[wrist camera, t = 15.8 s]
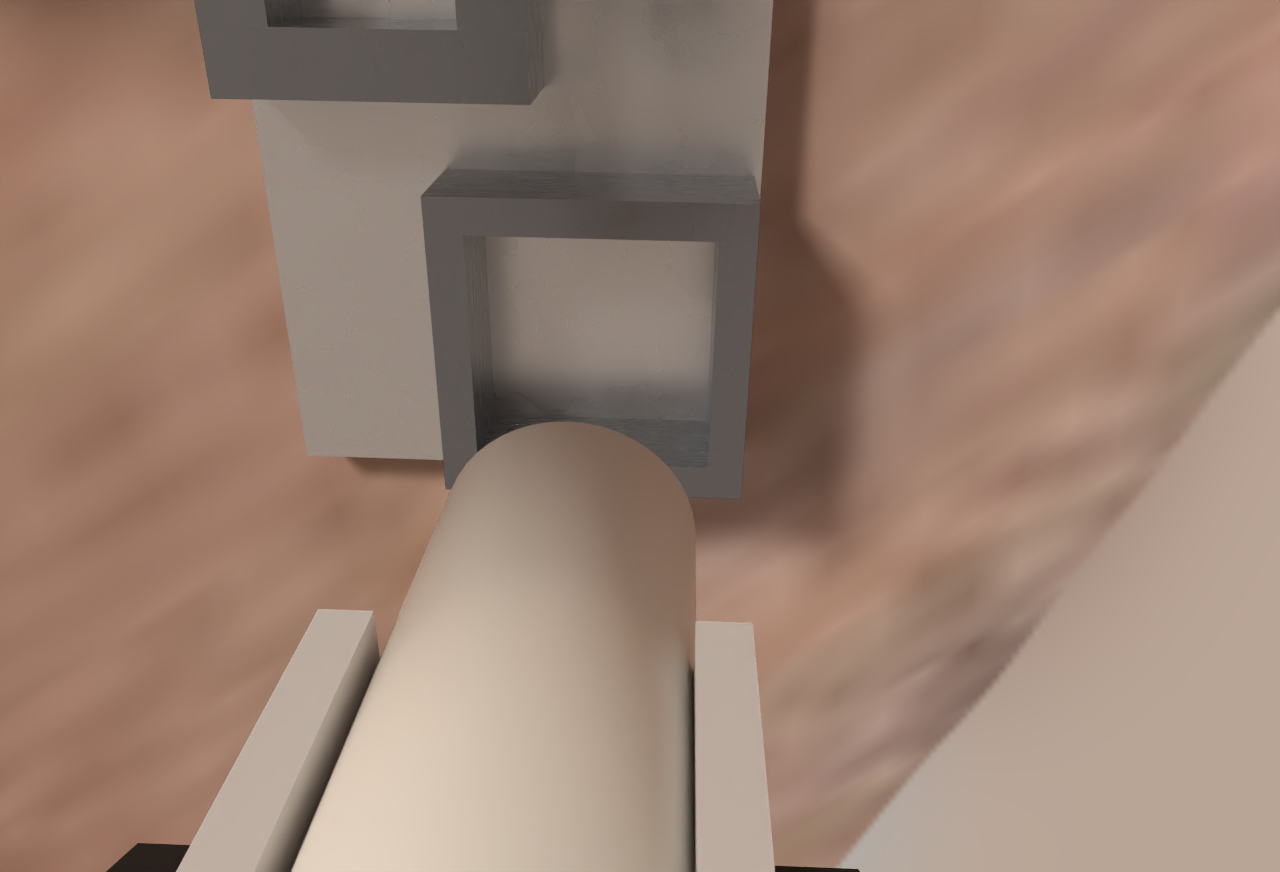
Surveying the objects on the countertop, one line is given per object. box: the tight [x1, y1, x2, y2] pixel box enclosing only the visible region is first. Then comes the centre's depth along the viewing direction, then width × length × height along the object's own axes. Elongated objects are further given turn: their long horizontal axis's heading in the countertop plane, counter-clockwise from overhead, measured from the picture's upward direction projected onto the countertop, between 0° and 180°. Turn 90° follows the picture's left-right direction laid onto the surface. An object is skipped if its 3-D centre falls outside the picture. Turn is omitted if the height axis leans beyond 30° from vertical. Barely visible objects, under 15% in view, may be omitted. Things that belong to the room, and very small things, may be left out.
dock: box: [194, 0, 773, 499], centre depth 28 cm, size 20×14×4 cm
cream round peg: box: [290, 421, 696, 872], centre depth 12 cm, size 4×4×13 cm
